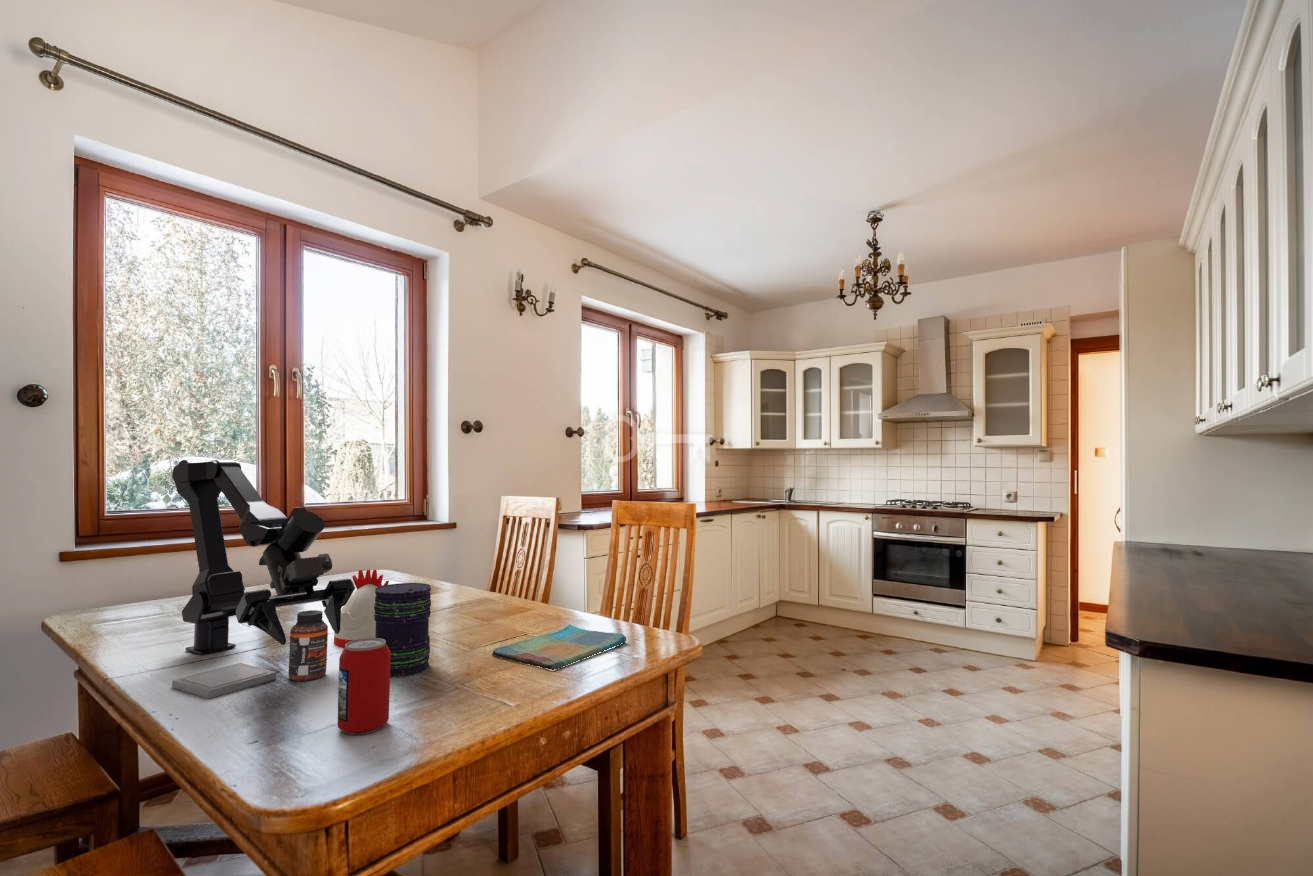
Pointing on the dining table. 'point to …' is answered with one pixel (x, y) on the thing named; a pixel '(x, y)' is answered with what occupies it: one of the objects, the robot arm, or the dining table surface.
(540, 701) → the dining table surface
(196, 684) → the plate
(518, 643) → the dish towel
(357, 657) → the beverage can
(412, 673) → the dark blue cylinder
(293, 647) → the supplement bottle
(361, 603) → the kitchen timer
